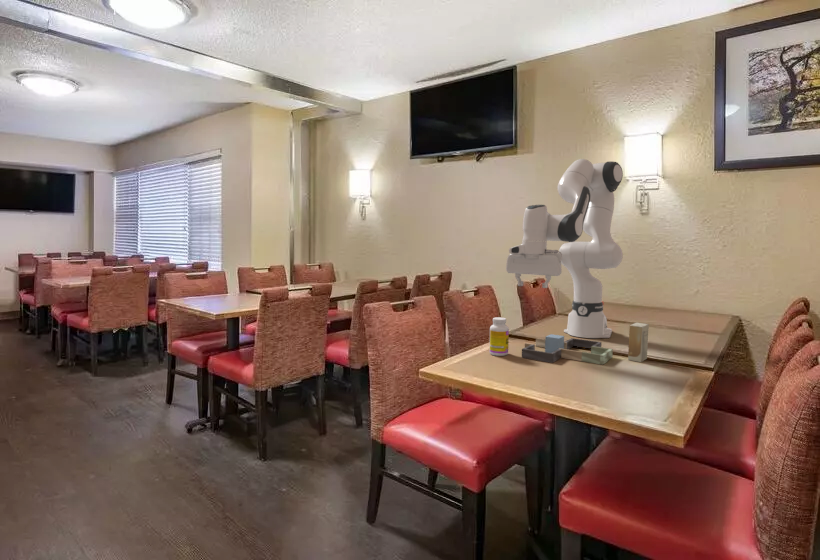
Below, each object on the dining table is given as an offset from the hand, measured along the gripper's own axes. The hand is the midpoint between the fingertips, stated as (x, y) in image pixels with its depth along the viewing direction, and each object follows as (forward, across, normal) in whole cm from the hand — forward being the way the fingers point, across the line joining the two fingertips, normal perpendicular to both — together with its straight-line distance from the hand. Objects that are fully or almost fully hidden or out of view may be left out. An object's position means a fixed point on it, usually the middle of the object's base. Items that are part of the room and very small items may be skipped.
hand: (532, 286), depth 177 cm
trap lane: (+23, -13, 0) cm, 27 cm away
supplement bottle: (+24, +6, +14) cm, 28 cm away
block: (+23, -9, 0) cm, 25 cm away
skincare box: (+23, -35, -8) cm, 43 cm away
